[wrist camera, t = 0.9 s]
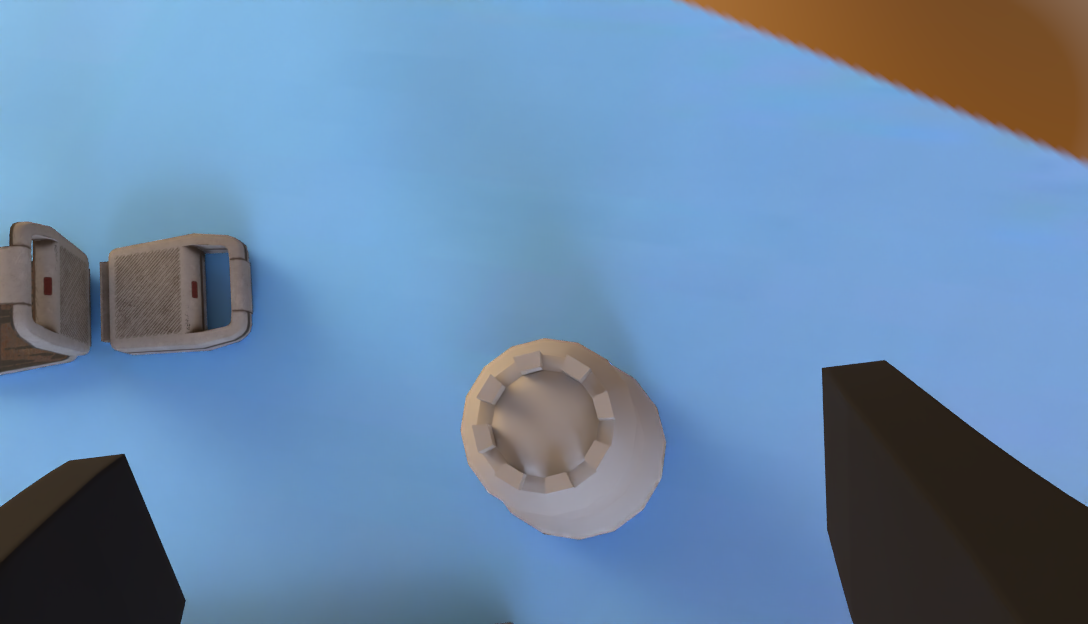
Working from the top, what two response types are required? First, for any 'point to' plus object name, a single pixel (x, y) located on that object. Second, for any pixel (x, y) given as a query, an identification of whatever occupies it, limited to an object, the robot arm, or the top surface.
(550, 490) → the rook chess piece
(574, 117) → the top surface
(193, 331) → the strap clip
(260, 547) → the top surface
